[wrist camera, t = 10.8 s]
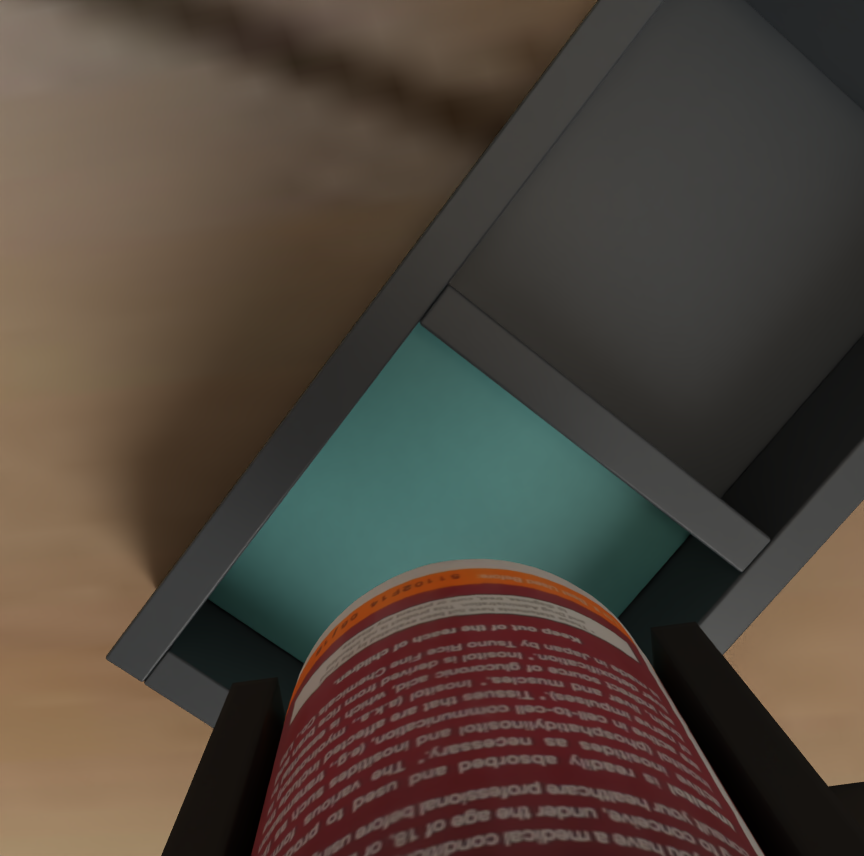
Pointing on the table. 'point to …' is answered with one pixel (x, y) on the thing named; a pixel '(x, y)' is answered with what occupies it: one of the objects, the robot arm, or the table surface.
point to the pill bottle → (488, 731)
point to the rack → (579, 359)
